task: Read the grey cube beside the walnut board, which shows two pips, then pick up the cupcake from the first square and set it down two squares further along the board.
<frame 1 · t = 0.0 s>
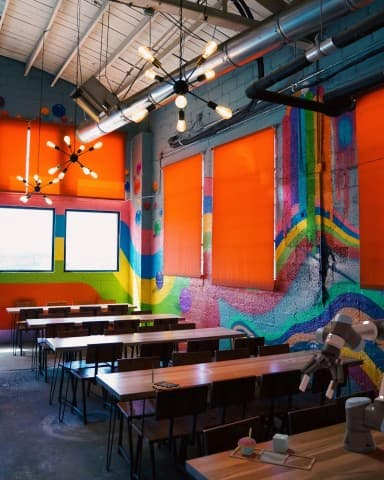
hand: (314, 393, 190), 36 cm above the table, tool tilted 35°, fingers open, 13 cm apart
board: (272, 457, 215), on the table
cupcake: (247, 453, 220), on the table
grey cube: (280, 449, 224), on the table
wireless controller: (164, 389, 341), on the table
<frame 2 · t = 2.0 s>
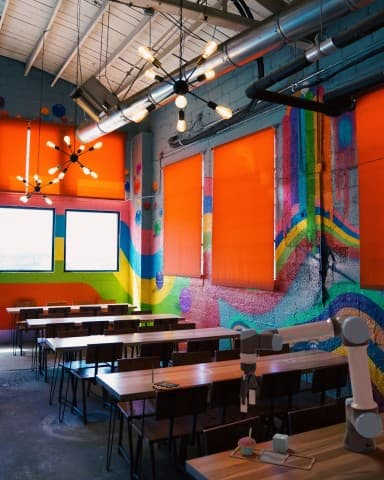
hand: (248, 407, 219), 22 cm above the table, tool pointing down, fingers open, 13 cm apart
nothing on the table moved.
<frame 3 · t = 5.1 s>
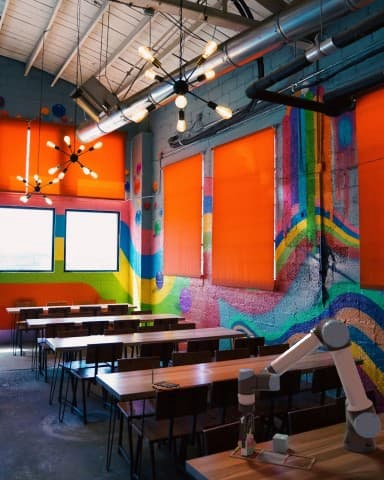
hand: (247, 451, 220), 1 cm above the table, tool pointing down, fingers closed on cupcake, 8 cm apart
cupcake: (247, 453, 220), on the table, touching gripper
everything else where it was.
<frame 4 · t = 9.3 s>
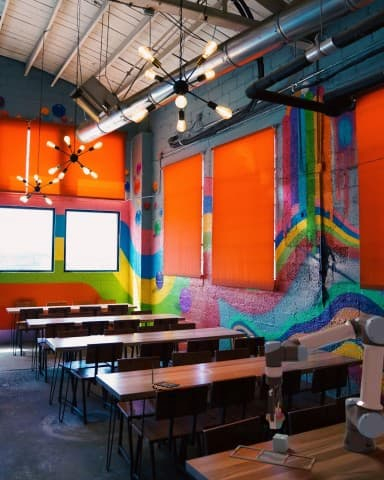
hand: (275, 425, 215), 15 cm above the table, tool pointing down, fingers closed on cupcake, 8 cm apart
cupcake: (275, 427, 215), point 14 cm above the table, touching gripper
everything else where it was.
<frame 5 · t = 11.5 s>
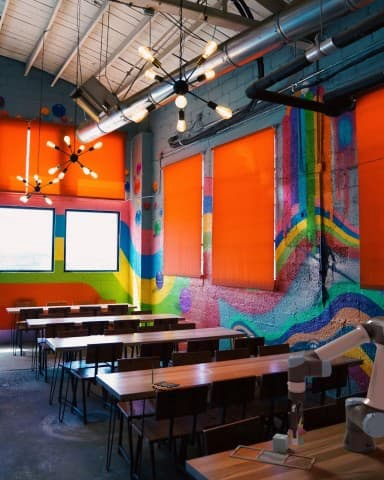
hand: (297, 441, 210), 9 cm above the table, tool pointing down, fingers closed on cupcake, 8 cm apart
cupcake: (297, 444, 210), point 8 cm above the table, touching gripper
everything else where it was.
when the fingers open (2 cm above the table, at t = 13.5 s): cupcake drops 1 cm, on the table.
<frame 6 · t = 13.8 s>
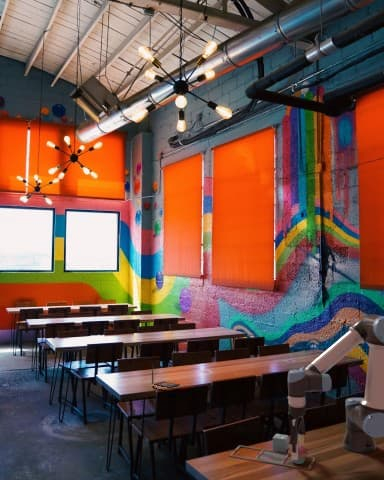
hand: (298, 454, 210), 3 cm above the table, tool pointing down, fingers open, 12 cm apart
cupcake: (298, 462, 209), on the table
everything else where it was.
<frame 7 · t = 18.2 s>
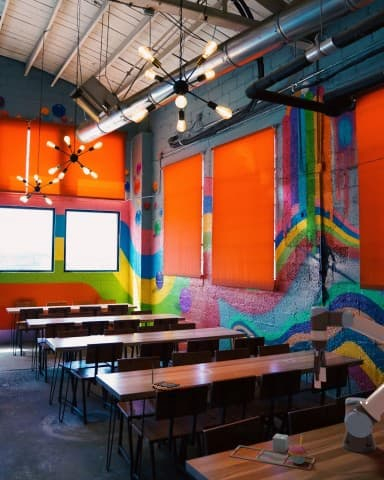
hand: (320, 384, 221), 32 cm above the table, tool pointing down, fingers open, 13 cm apart
nothing on the table moved.
at the end: cupcake inside the target area (0.1 cm from its centre), on the table; cupcake tilted 0°; the gripper is holding nothing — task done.
